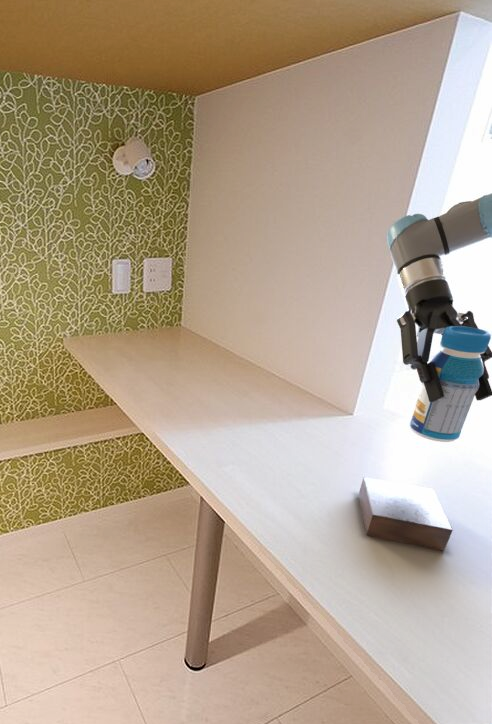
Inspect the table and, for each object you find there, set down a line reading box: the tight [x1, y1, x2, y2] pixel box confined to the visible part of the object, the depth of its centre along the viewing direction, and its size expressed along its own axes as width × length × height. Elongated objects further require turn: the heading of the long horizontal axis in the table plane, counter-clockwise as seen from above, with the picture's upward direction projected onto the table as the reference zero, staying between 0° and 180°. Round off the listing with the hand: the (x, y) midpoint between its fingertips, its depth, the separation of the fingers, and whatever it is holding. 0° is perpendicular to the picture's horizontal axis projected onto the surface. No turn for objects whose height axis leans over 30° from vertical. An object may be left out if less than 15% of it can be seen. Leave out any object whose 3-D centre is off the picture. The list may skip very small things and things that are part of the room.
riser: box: [357, 476, 454, 552], centre depth 79 cm, size 12×12×4 cm
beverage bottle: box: [409, 326, 492, 443], centre depth 79 cm, size 8×8×20 cm
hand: (461, 398), depth 76 cm, fingers closed on beverage bottle, 8 cm apart
